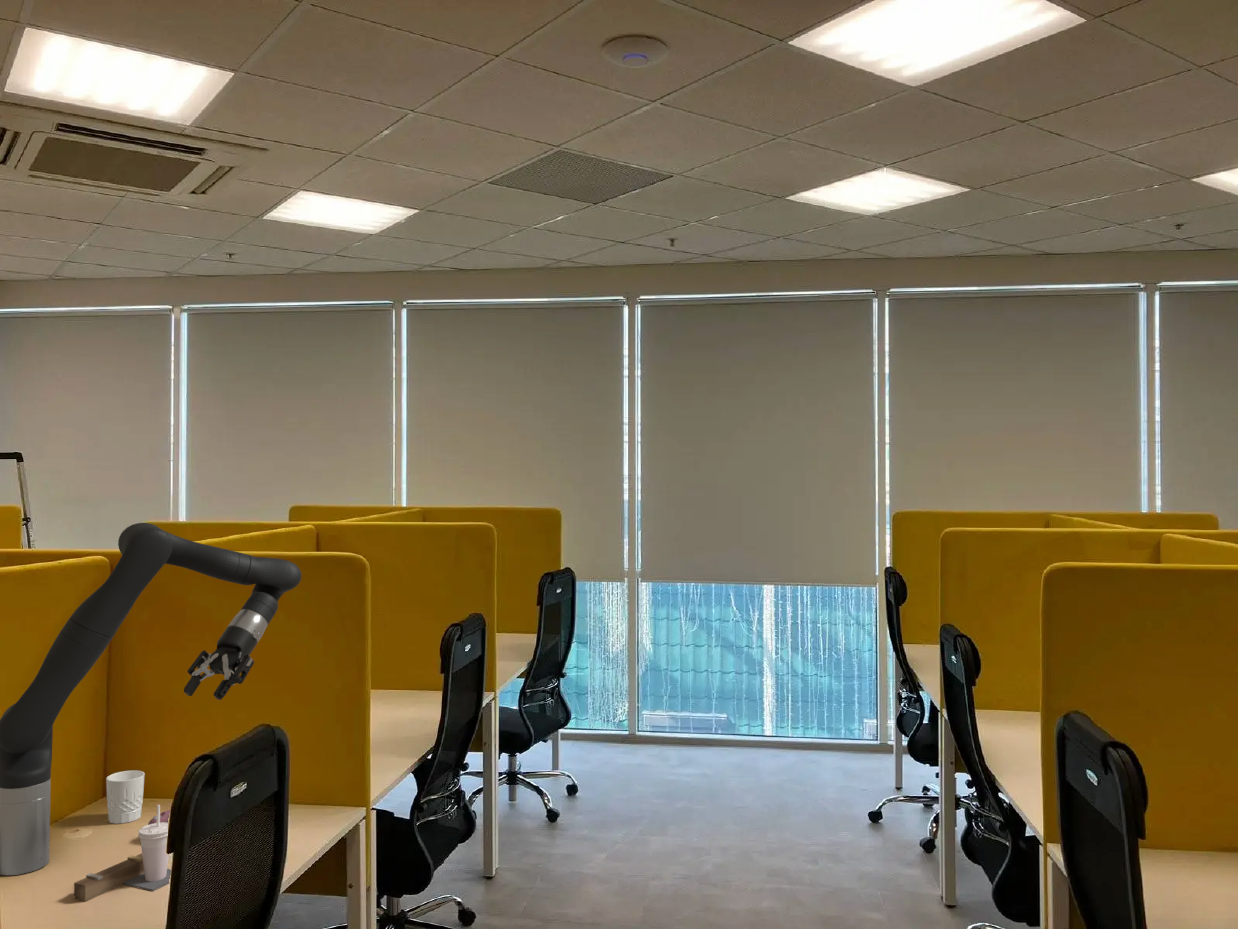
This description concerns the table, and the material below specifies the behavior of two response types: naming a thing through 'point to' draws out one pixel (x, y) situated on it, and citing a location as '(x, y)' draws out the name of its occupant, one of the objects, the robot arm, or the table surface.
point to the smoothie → (154, 849)
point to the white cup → (125, 796)
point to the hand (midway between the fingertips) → (201, 695)
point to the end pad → (148, 882)
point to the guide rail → (108, 878)
